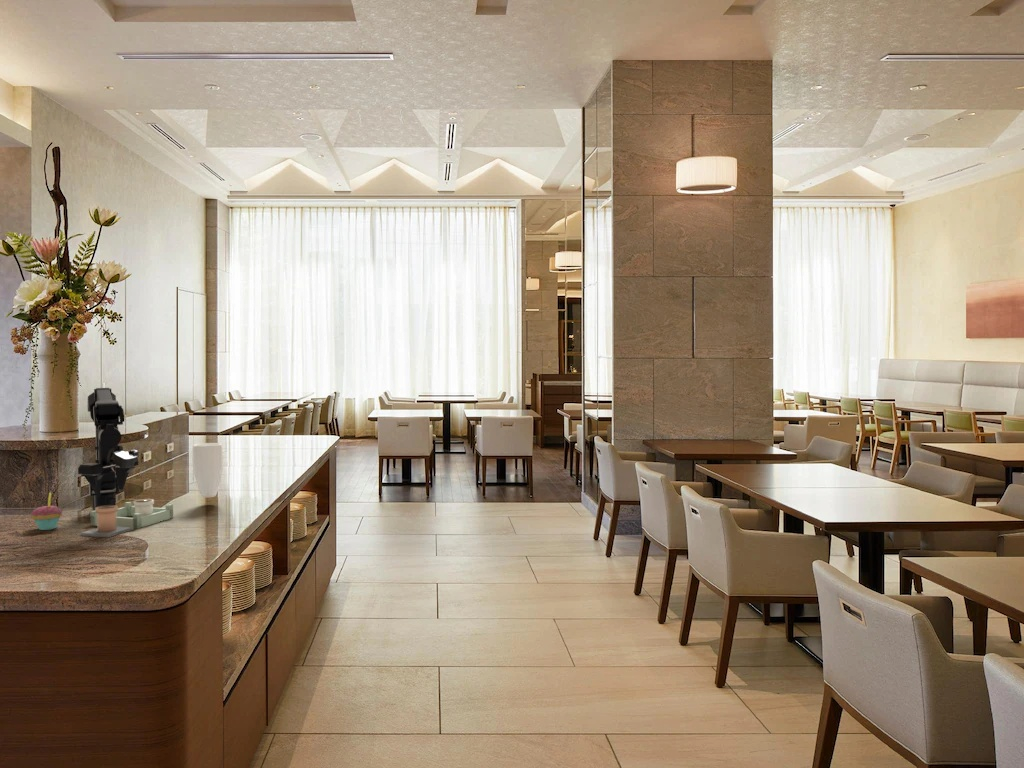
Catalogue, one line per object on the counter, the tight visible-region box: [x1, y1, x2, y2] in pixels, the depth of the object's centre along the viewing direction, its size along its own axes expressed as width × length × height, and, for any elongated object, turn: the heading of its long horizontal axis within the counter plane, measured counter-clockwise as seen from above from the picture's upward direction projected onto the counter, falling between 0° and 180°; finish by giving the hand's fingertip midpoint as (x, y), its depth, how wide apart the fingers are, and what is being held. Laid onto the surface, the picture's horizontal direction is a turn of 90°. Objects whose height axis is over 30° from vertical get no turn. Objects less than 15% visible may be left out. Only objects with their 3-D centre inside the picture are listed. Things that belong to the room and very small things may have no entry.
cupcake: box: [29, 490, 63, 531], centre depth 247 cm, size 9×8×12 cm
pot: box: [132, 498, 155, 517], centre depth 255 cm, size 6×6×7 cm
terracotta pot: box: [95, 504, 119, 532], centre depth 241 cm, size 6×6×7 cm
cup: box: [192, 442, 224, 498], centre depth 283 cm, size 10×10×22 cm
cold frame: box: [89, 501, 174, 529], centre depth 256 cm, size 18×16×4 cm
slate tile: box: [80, 526, 134, 538], centre depth 241 cm, size 10×10×1 cm
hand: (109, 492), depth 246 cm, fingers open, 9 cm apart
